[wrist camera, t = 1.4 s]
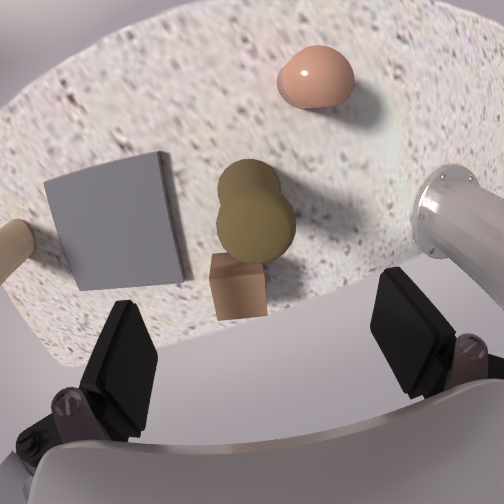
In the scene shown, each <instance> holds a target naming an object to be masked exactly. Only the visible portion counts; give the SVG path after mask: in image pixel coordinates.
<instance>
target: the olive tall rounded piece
mask: <svg viewBox="0 0 504 504" xmlns="http://www.w3.org/2000/svg"><path fill="white" fill-rule="evenodd" d="M218 197H219V200H220V204H221V207H220V209H219V213H218V217H217V222H216V226H217V235H218V237H219V239H220V242H221V244H222V246H223V248H224V249H225V250H226V251H227V252H228V253H229V254H230V255H231V256H232V257H234V258H236V259H237V260H239V261H241V262H245V263H250V264H262V263H267V262H269V261H272V260H275V259H277V258H278V257H279V256H281V255H282V254H284V253H285V252H286V250H287V249H288V248H289V247H290V245H291V244H292V241H293V239H294V236H295V233H296V217H295V214H294V211H293V208H292V206H291V205H290V203H289V202H288V201H287V199H286V198H285V197H284V195H282V194H281V190H280V183H279V180H278V177H277V175H276V173H275V172H274V171H273V169H272V168H271V167H270V166H268V165H267V164H265V163H264V162H262V161H258V160H255V159H243V160H240V161H237V162H234V163H233V164H231V165H230V166H229V167H227V168H226V169H225V170H224V172H223V173H222V175H221V176H220V179H219V183H218Z"/></svg>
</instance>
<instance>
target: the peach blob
mask: <svg viewBox="0 0 504 504" xmlns="http://www.w3.org/2000/svg"><path fill="white" fill-rule="evenodd" d="M277 87H278V91H279V93H280V95H281V96H282V98H283V99H284V100H285V101H286V102H287V103H289V104H290V105H292V106H294V107H297V108H301V109H311V108H322V107H332V106H336V105H339V104H341V103H342V102H344V101H345V100H346V99H347V98H348V97H349V96H350V94H351V92H352V90H353V87H354V73H353V70H352V67H351V65H350V64H349V62H348V61H347V59H346V58H345V57H344V56H343V55H342V54H341V53H339V52H338V51H336V50H334V49H332V48H330V47H326V46H320V45H315V46H310V47H307V48H304V49H302V50H301V51H299V52H298V53H297V54H296V55H295V56H294V57H293V58H292V59H291V60H290V61H289V62H288V63H287V64H286V65H285V66H284V67H283V68H282V69H281V71H280V72H279V74H278V78H277Z"/></svg>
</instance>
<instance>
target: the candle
mask: <svg viewBox="0 0 504 504" xmlns="http://www.w3.org/2000/svg"><path fill="white" fill-rule="evenodd" d="M34 246H35V244H34V237H33V234H32V232H31V230H30V228H29V227H28V225H27V224H26V223H25V222H24V221H22V220H20V219H14V220H12V221H10V222H8V223H7V224H5V225H4V226H3V227H1V228H0V285H1V284H2V283H3V282H4V281H5V280H6V279H7V278H8V277H9V276H10V275H11V274H12V273H13V272H14V271H15V270H16V269H17V268H18V267H19V266H20V265H21V264H22V263H23V262H24V261H25V260H26V259H27V258H28V257H29V256H30V255H31V254H32V253H33V251H34Z"/></svg>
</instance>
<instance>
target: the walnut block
mask: <svg viewBox="0 0 504 504" xmlns="http://www.w3.org/2000/svg"><path fill="white" fill-rule="evenodd" d="M209 282H210V287H211V291H212V296H213V301H214V306H215V310H216V315H217V320H218V321H222V320H232V319H242V318H252V317H261V316H268V315H267V302H266V289H265V277H264V270H263V264H250V263H245V262H241V261H239V260H237V259H236V258H234V257H232V256H231V255H230V254H229V253H218V254H212V260H211V268H210V276H209Z"/></svg>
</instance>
